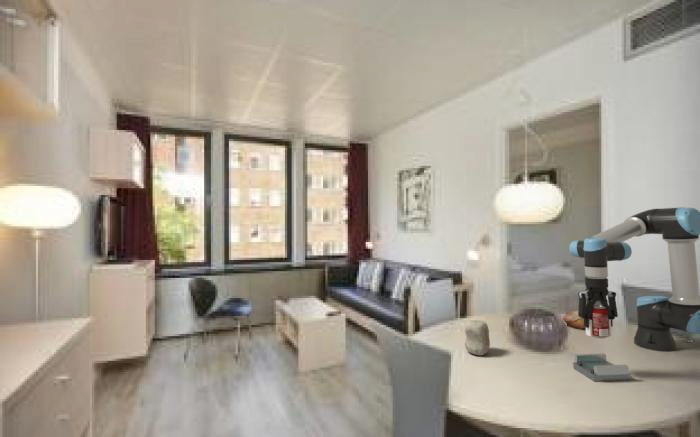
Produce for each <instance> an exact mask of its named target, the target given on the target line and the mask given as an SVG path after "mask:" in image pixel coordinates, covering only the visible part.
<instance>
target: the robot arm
mask: <svg viewBox="0 0 700 437" xmlns="http://www.w3.org/2000/svg"><path fill="white" fill-rule="evenodd" d="M644 235H661V236H662V240H663V241H665V242H666V243H667V249H668V250H667V252H668V261H669V262H668V263H669V271H670V272H669V273H670V283H671V294H672V296H671V297H668V296H662V295H648V296H647V295H646V296H645V295H644V296H639V297H638V298H637V299H636V311H637V312H636V314H637V316H636V317H637V329H636V331H635V334H634V337H633V343H634V344H635V345H636V346H638V347H640V348H644V349H648V350H652V351H653V350H654V351H660V352H661V351H662V352H671V351H672V352H673V351H675V350H677V343H676V342H675V340H674V337H673V334H672V332H671V329H674V330H679V331H683V332H687V333H689V334H696V335H700V287H699V277H698V276H699V275H698V265H697V254H696V244H695V243H696V242H697V241H698V240H699V239H700V210H698V209H697V208H694V207H670V208H669V207H667V208H651V209H647V210H644V211H642V212H639V213H635V214H633V215H631V216H629V217H627V218H625V220H624V221H623V222H621V223H619V224H616V225H614V226H612V227H611V228H608V229H605V230H604V231H601V232H599V233H597V234H595V235H592V236H590V237H588V238H584V239H583V240H579V239H578V240H574V241H572V242H570V244H569V246H568V247H569V248H568V250H569V253H570V255H572V257H575V258H580V259H584V276H585V277H584V286H585V290H584V291H582V292H581V291H578V294H577V295H578V309H579V310H578V309H577V310H578V316H579V317H581V318H583V319H584V327H586V330H585V335H586V336H589V337H590V338H594V337H593V336H592V320H590V316H591V313H592V310H593V307H594V305H596V302H599V303H600V305H602V306H603V307H606V309H607V311H608V321H609V337H612V328H613V324H614V323H613V320H615V319H616V318H617V317H618V316H619V314H618V307H617V302H616V301H617V300H616V296H617V293H616V292H615V291H611V290H609V289H608V288H609V279H608V277H609V269H608V262H616V261H617V262H618V261H619V262H622V261H625V260H628V259H630V257H632V256H631V255H632V248H631V245H629V243H626V242H625V241H628V240H630V239H632V238H635V237H636V238H637V237H641V236H644Z"/></svg>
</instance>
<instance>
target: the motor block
mask: <svg viewBox="0 0 700 437" xmlns="http://www.w3.org/2000/svg"><path fill="white" fill-rule="evenodd" d="M572 364H573V369H574V370H575V371H577V372H579V373H580V374H581V375H583V376H584V377H586V378H587V379H589V380H591V381H592V382H613V381H614V382H615V381H616V382H617V381H619V380H620V381H631V372H629V365H627V364H613V363H612V362H610V361H608V360H607V355H606V353H603V352H602V353H601V352H600V353H580V354H579V353H578V354H576V353H575V354H574V362H573V363H572Z"/></svg>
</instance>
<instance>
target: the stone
mask: <svg viewBox="0 0 700 437" xmlns="http://www.w3.org/2000/svg"><path fill="white" fill-rule="evenodd" d="M464 326H465V327H464V333H465V337H466V338H465V341H464V346H465V350H466V351H467V352H469V353H470V354H472V355H477V356H484V355H486V354H487V353H488V351H489V349H490V347H491V343H490V342H491V341H490V329H489V326H488V324H487V322H485V321H483V320H477V319H475V320H474V319H472V320H469V321H466V322H465V325H464Z"/></svg>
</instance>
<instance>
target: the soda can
mask: <svg viewBox="0 0 700 437" xmlns="http://www.w3.org/2000/svg"><path fill="white" fill-rule="evenodd" d="M590 320H592V336H593V337H592V338H596V339H606V338H608V337H610V336H609V321H608V311H607V309H606V307H603V306H602V305H601V304H594V307H593V310H592V313H591V316H590Z"/></svg>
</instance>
